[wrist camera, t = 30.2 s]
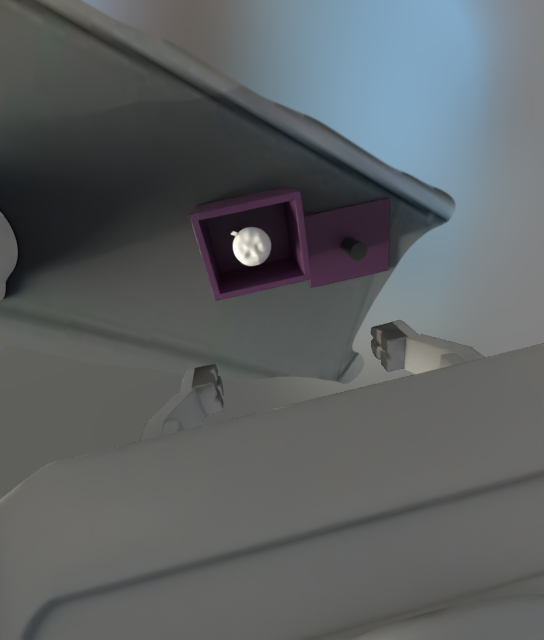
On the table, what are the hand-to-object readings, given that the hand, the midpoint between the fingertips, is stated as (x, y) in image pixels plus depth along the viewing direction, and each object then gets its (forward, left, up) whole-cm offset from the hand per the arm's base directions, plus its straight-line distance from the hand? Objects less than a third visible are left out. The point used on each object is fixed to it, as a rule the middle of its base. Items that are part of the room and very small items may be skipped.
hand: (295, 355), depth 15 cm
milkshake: (0, +1, -30) cm, 31 cm away
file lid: (+14, -5, -31) cm, 35 cm away
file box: (0, 0, -31) cm, 31 cm away
